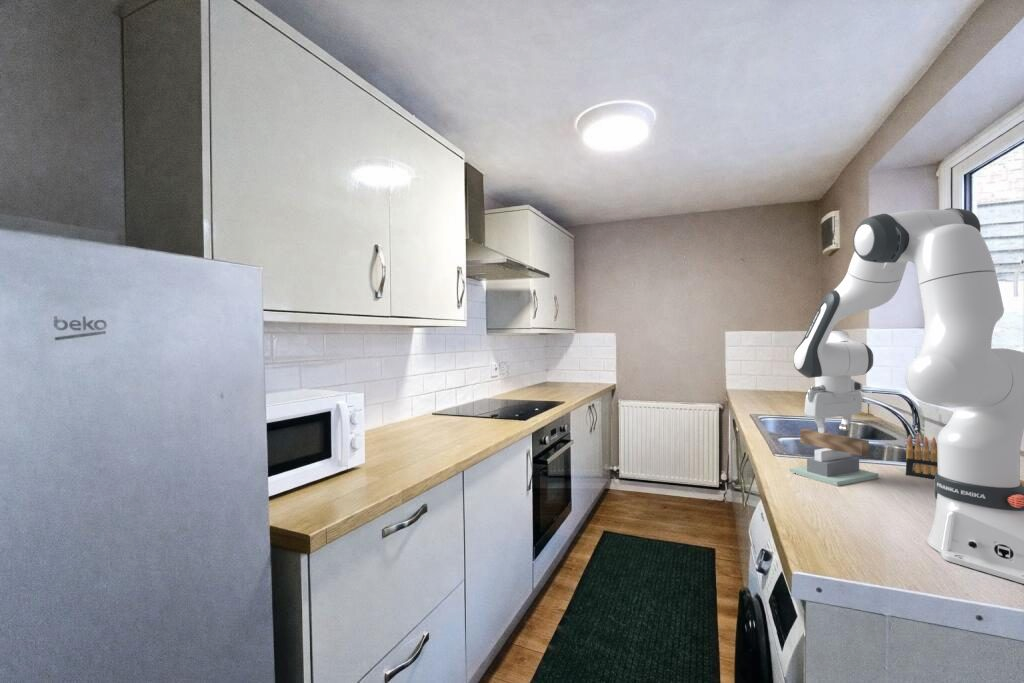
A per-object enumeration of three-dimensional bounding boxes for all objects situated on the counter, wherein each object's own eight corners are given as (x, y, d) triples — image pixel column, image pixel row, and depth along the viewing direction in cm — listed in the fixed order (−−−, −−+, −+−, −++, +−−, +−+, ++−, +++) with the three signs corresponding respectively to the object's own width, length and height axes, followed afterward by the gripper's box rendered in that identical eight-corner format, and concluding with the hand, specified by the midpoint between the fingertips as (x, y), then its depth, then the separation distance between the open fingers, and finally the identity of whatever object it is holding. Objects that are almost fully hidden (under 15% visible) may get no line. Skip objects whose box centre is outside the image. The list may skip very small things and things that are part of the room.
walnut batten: (868, 454, 128) (868, 440, 128) (861, 456, 127) (861, 441, 127) (807, 441, 145) (806, 429, 145) (800, 442, 144) (800, 429, 144)
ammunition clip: (905, 475, 135) (905, 434, 135) (906, 473, 137) (905, 433, 136) (955, 482, 128) (955, 440, 128) (956, 481, 129) (955, 438, 129)
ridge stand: (878, 477, 133) (878, 450, 133) (836, 486, 126) (836, 457, 126) (829, 465, 146) (829, 440, 146) (789, 472, 139) (789, 446, 139)
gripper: (819, 387, 129) (820, 436, 129) (866, 384, 137) (867, 430, 137) (797, 385, 135) (798, 432, 135) (844, 382, 142) (845, 426, 142)
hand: (833, 431), depth 136 cm, fingers open, 8 cm apart
